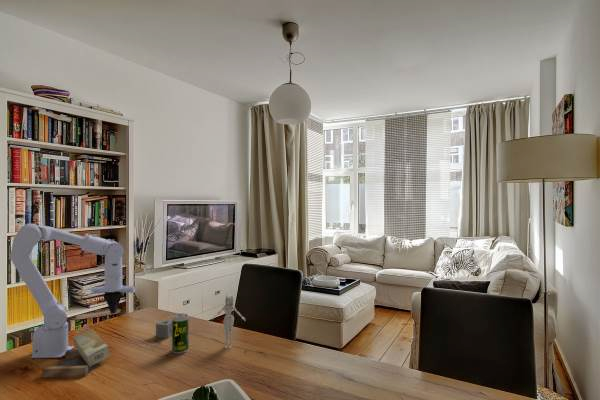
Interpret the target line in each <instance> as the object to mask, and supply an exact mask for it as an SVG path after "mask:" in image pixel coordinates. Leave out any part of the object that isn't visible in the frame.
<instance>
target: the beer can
mask: <svg viewBox="0 0 600 400" xmlns="http://www.w3.org/2000/svg"><path fill="white" fill-rule="evenodd" d="M171 320H172V336H171V351H172V353H174V354H176V355H178V354H184V353H187V352H188V351H189V343H190V342H189V327H190V325H189V321H190V320H189V315H188V313H176V314H174V315H173V316H172V319H171Z"/></svg>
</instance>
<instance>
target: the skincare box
mask: <svg viewBox="0 0 600 400" xmlns="http://www.w3.org/2000/svg"><path fill="white" fill-rule="evenodd" d="M72 340H73V343H74V344H73V346H74V348H75V350H78V352H79V353H80V355H81V356H82V357H83V359H84V360H85V361H86V363H87V364H88V365H89V367H90V366H92V365H94V364H96V363H98V362H100V361H101V362H102V361H104V360H106V359H107V358H109V357H110V356H111V354H110V351H109V346H108V344H107V343H106V342H105V341H104V340H103V339H102V338H101V337H100V335H99V334H98V333H97V332H96V331H95V330H94V328H93V327H92V328H89V329H86V330H85V331H83V332H80V333H79V334H76V335H74V336H72ZM101 362H100V363H101Z"/></svg>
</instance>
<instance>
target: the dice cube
mask: <svg viewBox="0 0 600 400" xmlns="http://www.w3.org/2000/svg"><path fill="white" fill-rule="evenodd" d="M155 337H156V338H159V339H160V338H161V339H169V338H172V319H162V320H160V321H159V322H157V323H156V324H155Z"/></svg>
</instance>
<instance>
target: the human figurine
mask: <svg viewBox="0 0 600 400" xmlns="http://www.w3.org/2000/svg"><path fill="white" fill-rule="evenodd" d="M233 311H235V313H236V314H237V315H238V316H239V317H241V319H242V320H243V321H244V322H246V318H245V317H244V316H243V315H242V314H241V313H240V312H239V311H238V310H237V308H236V307H235V305H234V297H233V295H232V294H227V295H225V305H223V307H222V308H221V310H219V311H218V312H217V313H216V315H214V316H213V318H212V320H214V319H215V318H216V317H217V316H218V315H220V314H221V313H222V312H224V313H225V315H224V318H223V327H224V331H225V332H224V334H225V335H224V336H225V346H224V347H223V348H224V349H227V347H228V349H231V348H232V342H233V341H232V340H233V331H232V330H233V326H234V321H235V317H234V315H232V312H233ZM228 340H229V345H228Z"/></svg>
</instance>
